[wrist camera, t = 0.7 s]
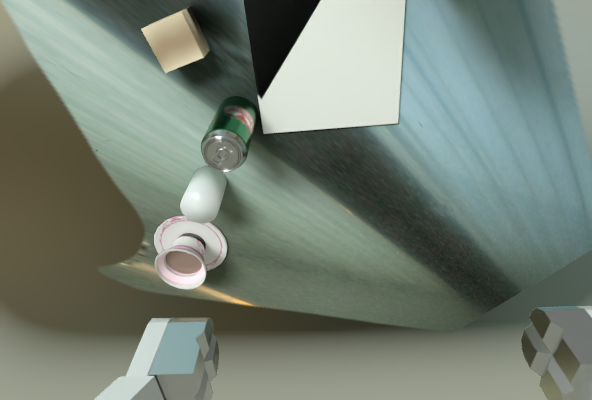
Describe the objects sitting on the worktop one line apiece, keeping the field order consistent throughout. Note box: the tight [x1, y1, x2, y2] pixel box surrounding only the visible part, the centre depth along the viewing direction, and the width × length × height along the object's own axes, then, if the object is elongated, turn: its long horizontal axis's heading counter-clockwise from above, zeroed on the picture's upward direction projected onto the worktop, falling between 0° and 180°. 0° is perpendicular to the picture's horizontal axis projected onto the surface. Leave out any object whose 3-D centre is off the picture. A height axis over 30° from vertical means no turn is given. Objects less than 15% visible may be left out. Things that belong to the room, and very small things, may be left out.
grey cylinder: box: [180, 166, 227, 223], centre depth 54 cm, size 5×5×7 cm
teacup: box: [154, 216, 228, 289], centre depth 61 cm, size 12×12×6 cm
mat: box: [244, 0, 405, 134], centre depth 47 cm, size 18×18×1 cm
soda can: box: [201, 96, 257, 172], centre depth 46 cm, size 5×5×12 cm
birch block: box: [141, 7, 211, 73], centre depth 44 cm, size 5×5×4 cm
